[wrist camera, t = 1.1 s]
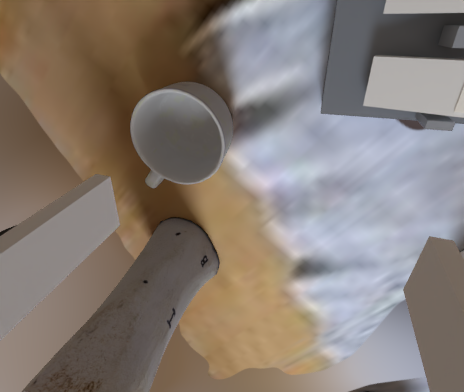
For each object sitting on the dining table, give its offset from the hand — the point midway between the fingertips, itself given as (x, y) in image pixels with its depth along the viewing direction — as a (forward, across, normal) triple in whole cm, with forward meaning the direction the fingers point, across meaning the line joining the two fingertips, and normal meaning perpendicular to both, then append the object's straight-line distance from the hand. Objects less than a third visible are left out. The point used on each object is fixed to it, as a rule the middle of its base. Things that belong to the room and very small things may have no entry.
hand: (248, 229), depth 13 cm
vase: (+26, -15, -26) cm, 39 cm away
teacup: (+26, -13, -5) cm, 29 cm away
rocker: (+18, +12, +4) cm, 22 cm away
